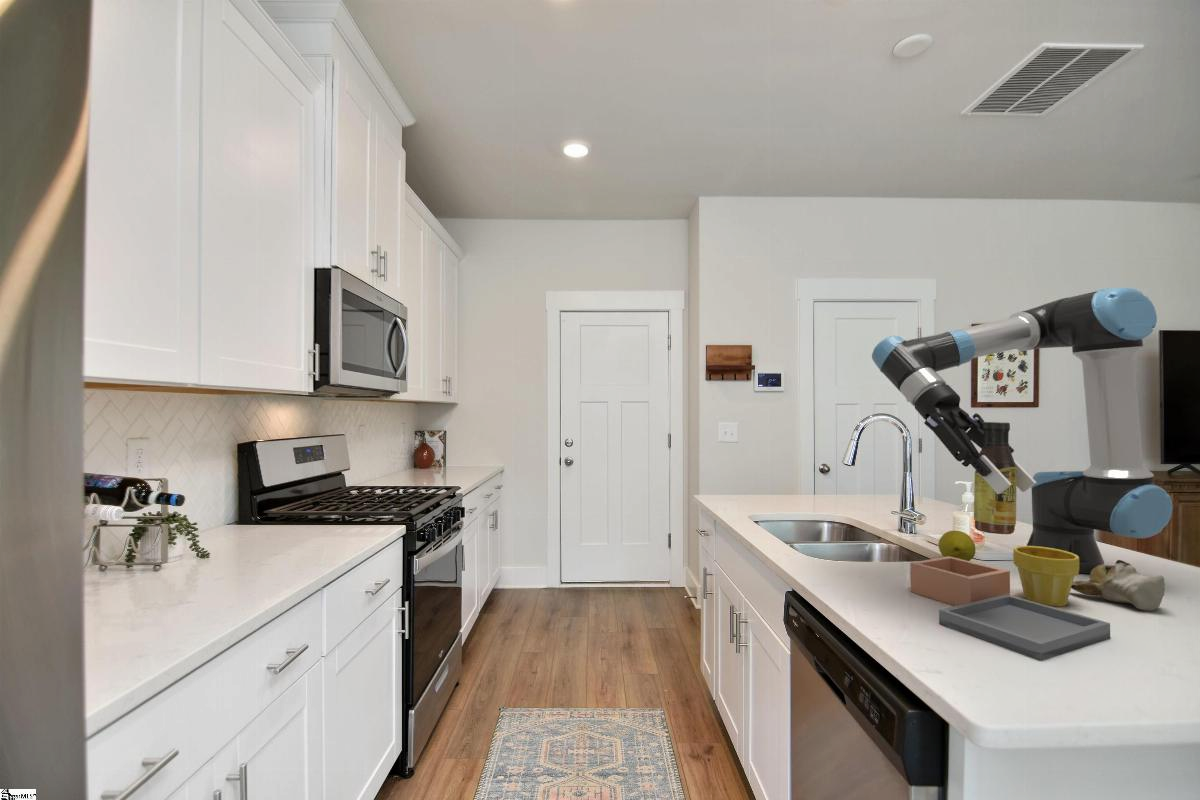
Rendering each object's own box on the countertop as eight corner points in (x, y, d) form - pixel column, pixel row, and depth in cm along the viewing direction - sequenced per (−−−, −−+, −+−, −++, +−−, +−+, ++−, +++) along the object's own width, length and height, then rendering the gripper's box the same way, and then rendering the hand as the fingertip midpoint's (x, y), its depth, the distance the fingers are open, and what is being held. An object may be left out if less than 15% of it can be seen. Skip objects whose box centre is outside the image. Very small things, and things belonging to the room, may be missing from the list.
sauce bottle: (1001, 537, 97) (1000, 422, 97) (965, 529, 103) (965, 421, 103) (1025, 533, 100) (1025, 422, 100) (989, 526, 106) (989, 420, 106)
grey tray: (1007, 607, 108) (1007, 594, 108) (1110, 638, 94) (1110, 623, 94) (939, 623, 100) (939, 609, 100) (1040, 660, 85) (1040, 644, 85)
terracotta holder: (948, 583, 123) (948, 556, 123) (1010, 601, 112) (1009, 571, 112) (910, 591, 118) (910, 562, 118) (970, 610, 107) (970, 578, 107)
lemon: (943, 556, 146) (943, 525, 146) (979, 562, 141) (979, 529, 141) (933, 564, 138) (933, 532, 138) (970, 571, 133) (970, 537, 133)
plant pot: (1093, 612, 106) (1092, 560, 106) (1030, 608, 108) (1030, 557, 108) (1059, 594, 116) (1059, 546, 116) (1003, 591, 118) (1003, 544, 118)
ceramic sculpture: (1141, 569, 104) (1057, 554, 118) (1145, 617, 103) (1060, 596, 117) (1182, 565, 106) (1095, 551, 121) (1186, 613, 105) (1098, 592, 120)
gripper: (949, 409, 119) (1034, 497, 104) (884, 408, 112) (965, 504, 97) (975, 383, 115) (1067, 472, 99) (908, 381, 107) (998, 477, 92)
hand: (1017, 488), depth 98 cm, fingers closed on sauce bottle, 6 cm apart
